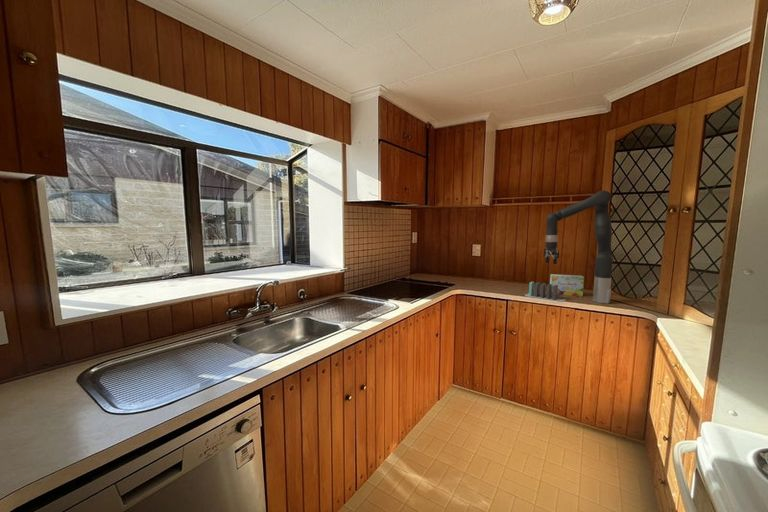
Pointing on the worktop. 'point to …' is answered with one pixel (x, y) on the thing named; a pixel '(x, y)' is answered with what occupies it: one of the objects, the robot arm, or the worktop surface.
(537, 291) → the domino
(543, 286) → the domino
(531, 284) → the domino
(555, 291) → the domino
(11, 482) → the worktop surface
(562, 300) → the mat
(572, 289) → the snack box
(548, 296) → the domino
